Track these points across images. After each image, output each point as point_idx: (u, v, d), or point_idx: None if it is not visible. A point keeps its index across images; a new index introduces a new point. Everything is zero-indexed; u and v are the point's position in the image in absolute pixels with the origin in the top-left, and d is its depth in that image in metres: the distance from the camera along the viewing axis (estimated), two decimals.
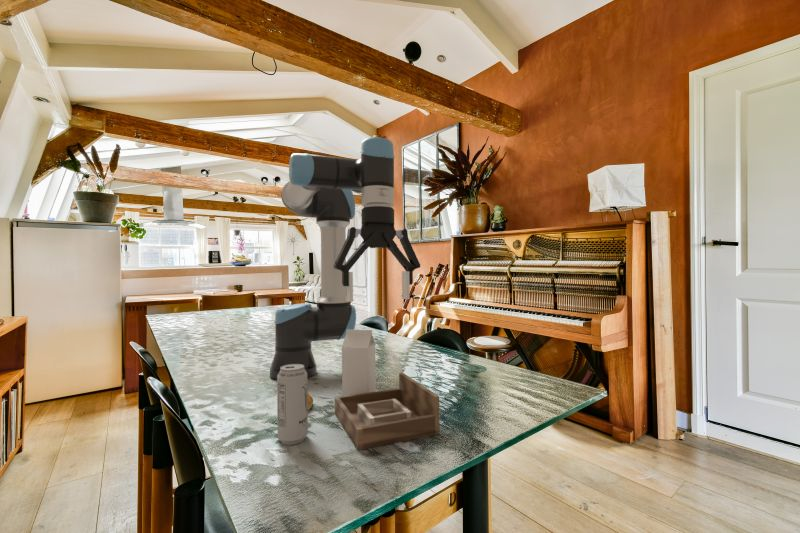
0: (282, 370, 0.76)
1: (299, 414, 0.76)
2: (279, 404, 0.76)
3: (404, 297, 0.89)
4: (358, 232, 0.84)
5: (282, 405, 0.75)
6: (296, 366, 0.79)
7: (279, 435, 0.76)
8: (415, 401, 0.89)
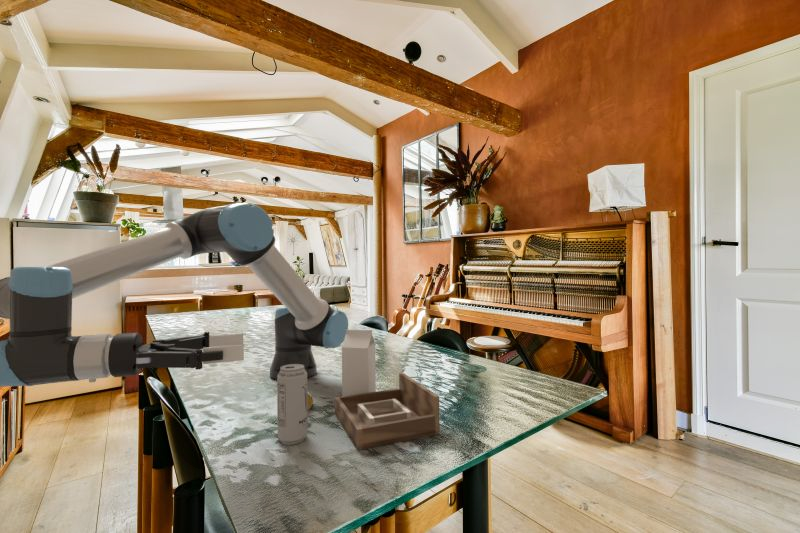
0: (282, 370, 0.76)
1: (299, 414, 0.76)
2: (279, 404, 0.76)
3: None
4: None
5: (282, 405, 0.75)
6: (296, 366, 0.79)
7: (279, 435, 0.76)
8: (415, 401, 0.89)
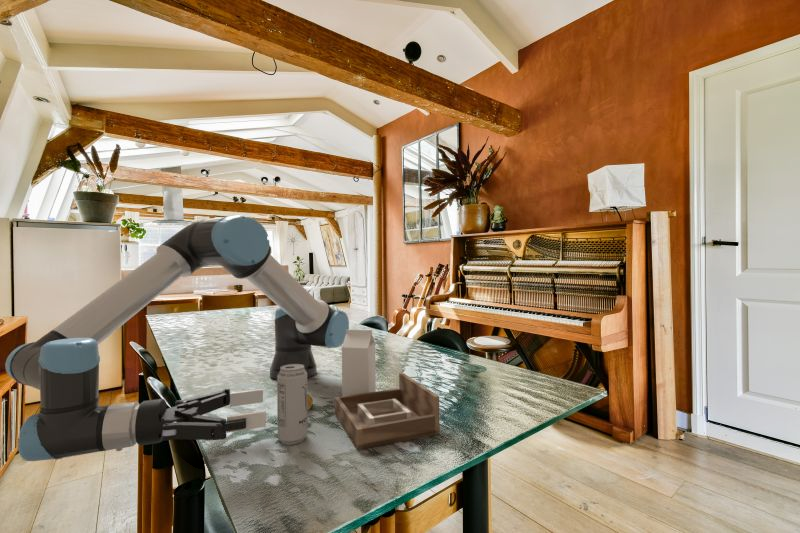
0: (282, 370, 0.76)
1: (299, 414, 0.76)
2: (279, 404, 0.76)
3: None
4: None
5: (282, 405, 0.75)
6: (296, 366, 0.79)
7: (279, 435, 0.76)
8: (415, 401, 0.89)
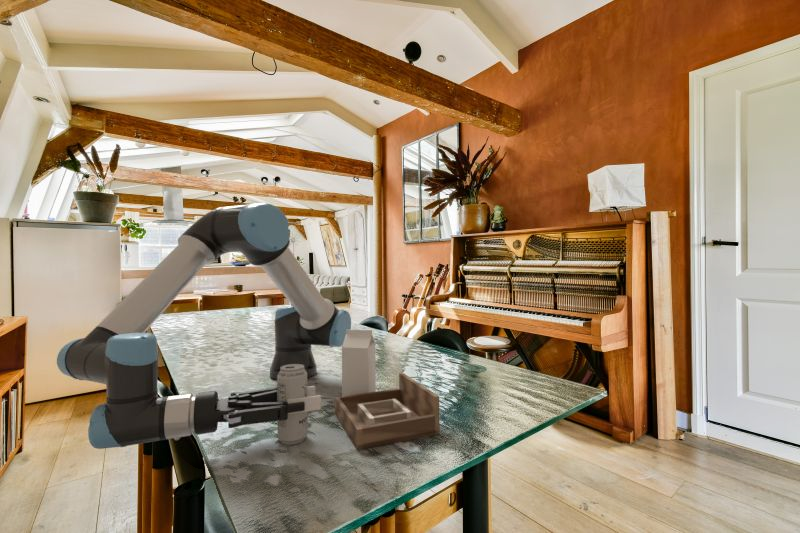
0: (282, 370, 0.76)
1: (299, 414, 0.76)
2: None
3: None
4: None
5: None
6: (296, 366, 0.79)
7: (279, 435, 0.76)
8: (415, 401, 0.89)
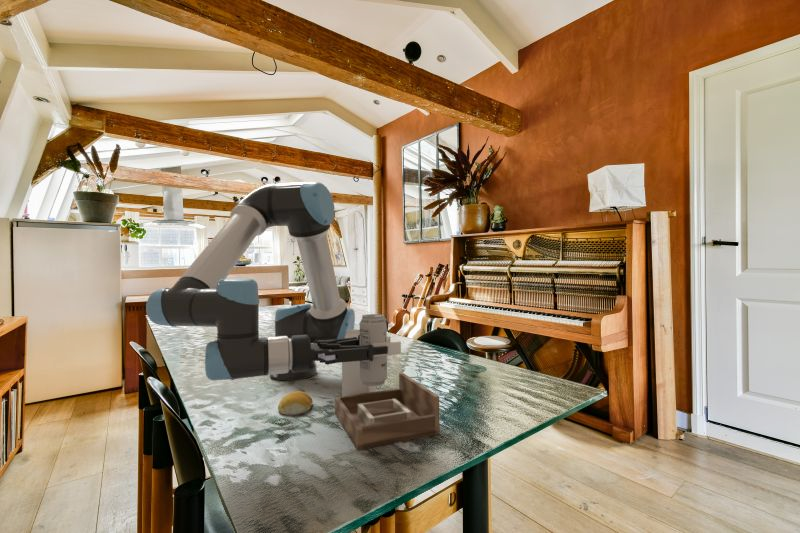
0: (365, 317, 0.82)
1: (381, 358, 0.82)
2: None
3: None
4: None
5: None
6: (376, 315, 0.85)
7: (363, 377, 0.82)
8: (415, 401, 0.89)
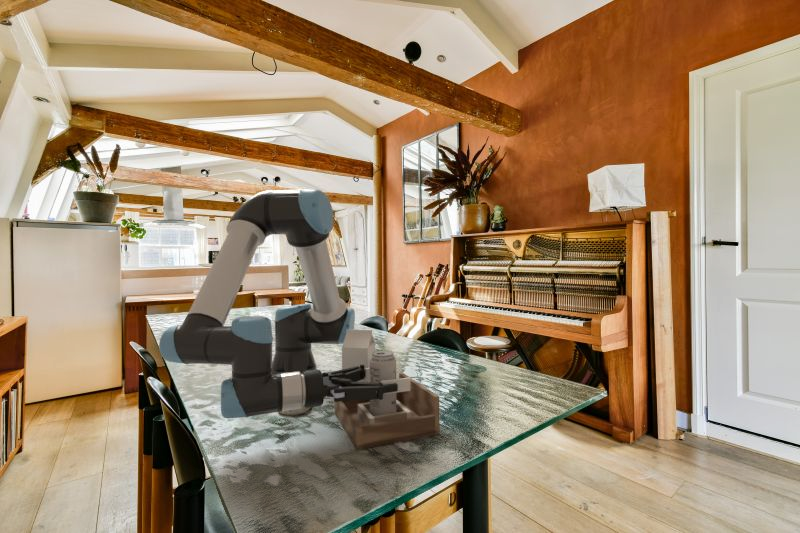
0: (375, 356, 0.84)
1: (391, 396, 0.83)
2: None
3: None
4: None
5: None
6: (385, 352, 0.86)
7: (373, 414, 0.83)
8: (415, 401, 0.89)
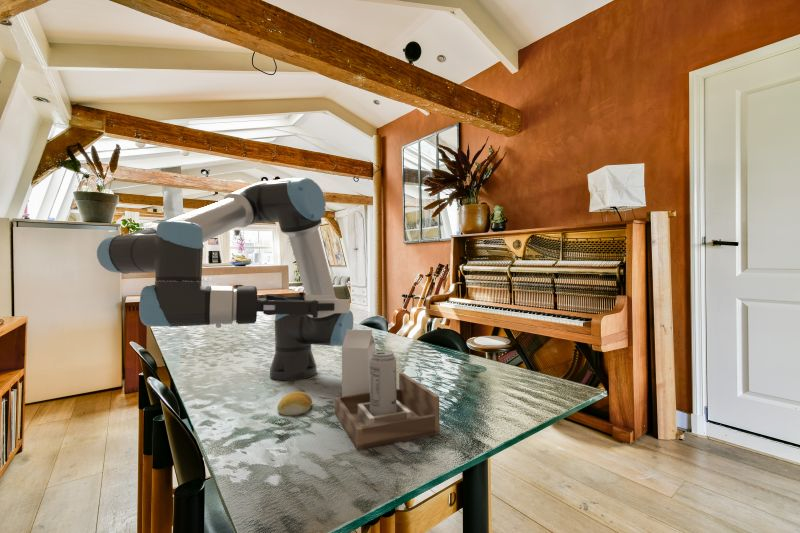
0: (375, 355, 0.84)
1: (391, 395, 0.83)
2: (373, 386, 0.83)
3: None
4: None
5: (377, 387, 0.83)
6: (386, 352, 0.86)
7: (373, 414, 0.83)
8: (415, 401, 0.89)
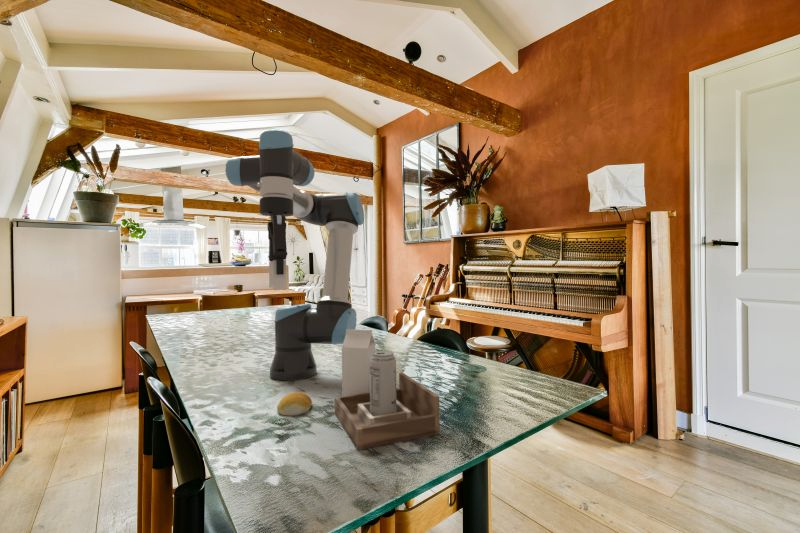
0: (375, 355, 0.84)
1: (391, 395, 0.83)
2: (373, 386, 0.83)
3: None
4: None
5: (377, 387, 0.83)
6: (386, 352, 0.86)
7: (373, 414, 0.83)
8: (415, 401, 0.89)
